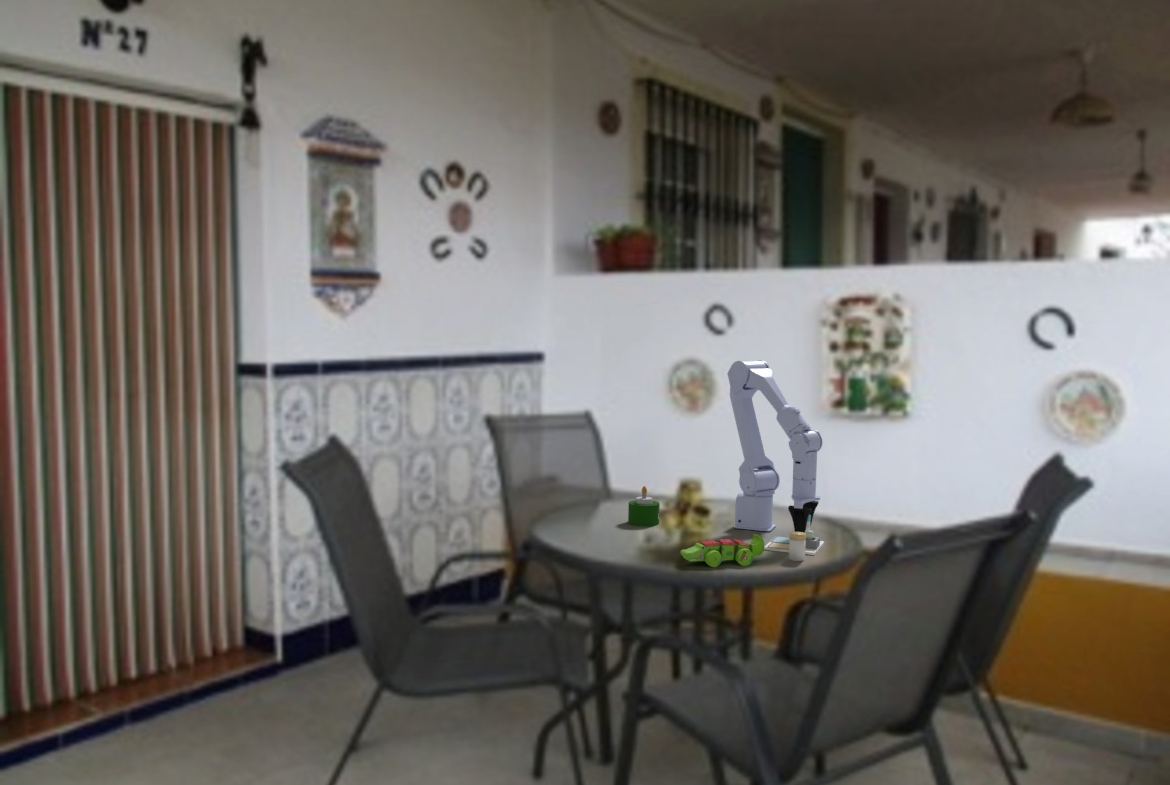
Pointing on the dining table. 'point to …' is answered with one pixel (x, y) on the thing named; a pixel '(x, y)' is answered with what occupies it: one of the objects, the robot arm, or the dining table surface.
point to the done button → (809, 534)
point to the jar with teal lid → (808, 523)
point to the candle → (643, 511)
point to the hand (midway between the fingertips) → (802, 532)
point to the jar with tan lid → (797, 546)
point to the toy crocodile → (725, 551)
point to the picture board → (783, 545)
